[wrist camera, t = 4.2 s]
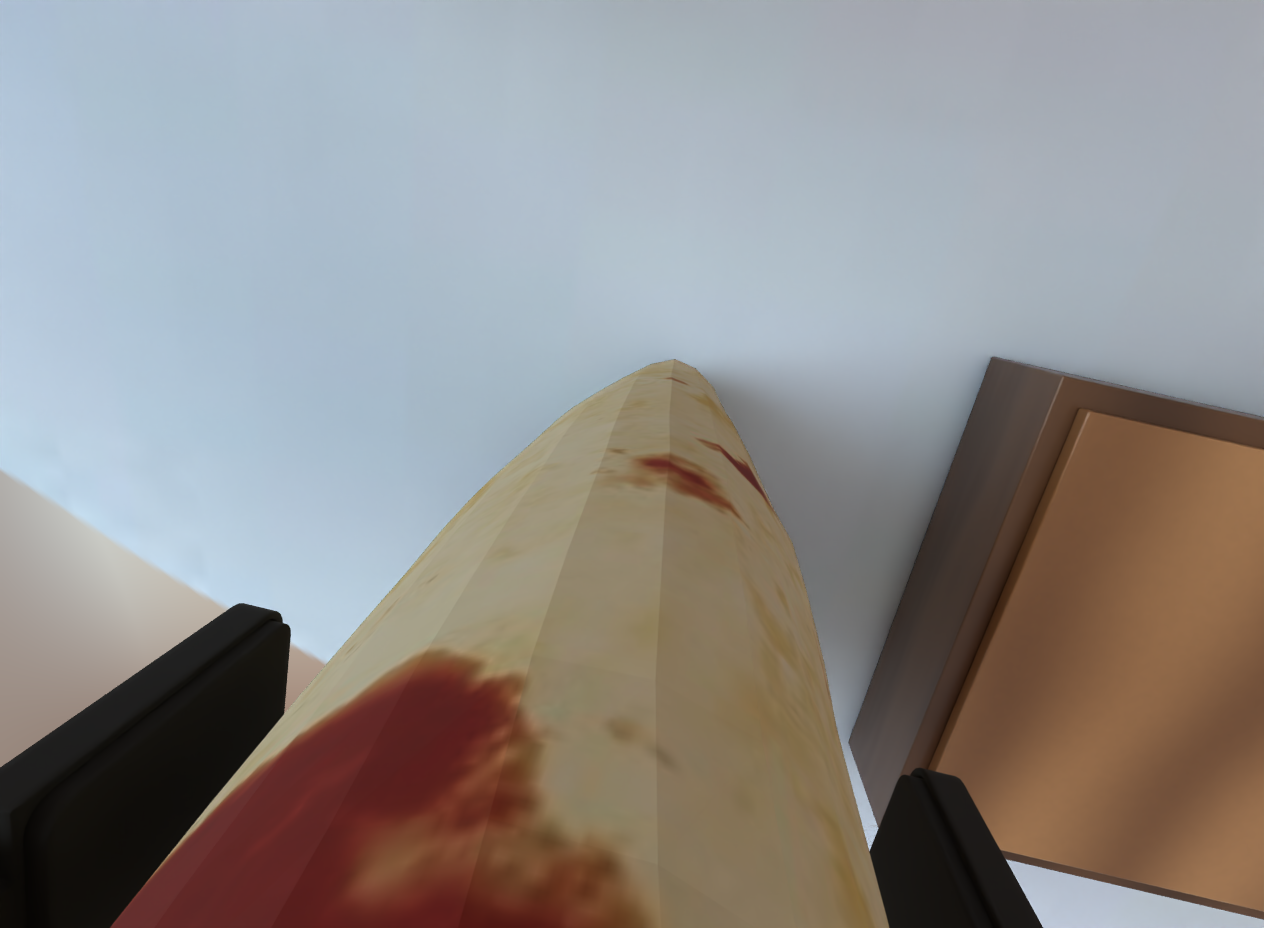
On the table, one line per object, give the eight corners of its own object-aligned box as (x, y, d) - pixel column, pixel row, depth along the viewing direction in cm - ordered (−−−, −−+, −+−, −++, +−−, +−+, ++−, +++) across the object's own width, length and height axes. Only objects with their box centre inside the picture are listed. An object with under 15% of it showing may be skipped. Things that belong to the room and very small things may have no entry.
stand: (847, 742, 22) (882, 842, 18) (990, 356, 18) (1073, 377, 14) (1265, 839, 22) (1391, 961, 18) (1497, 469, 18) (1718, 523, 14)
